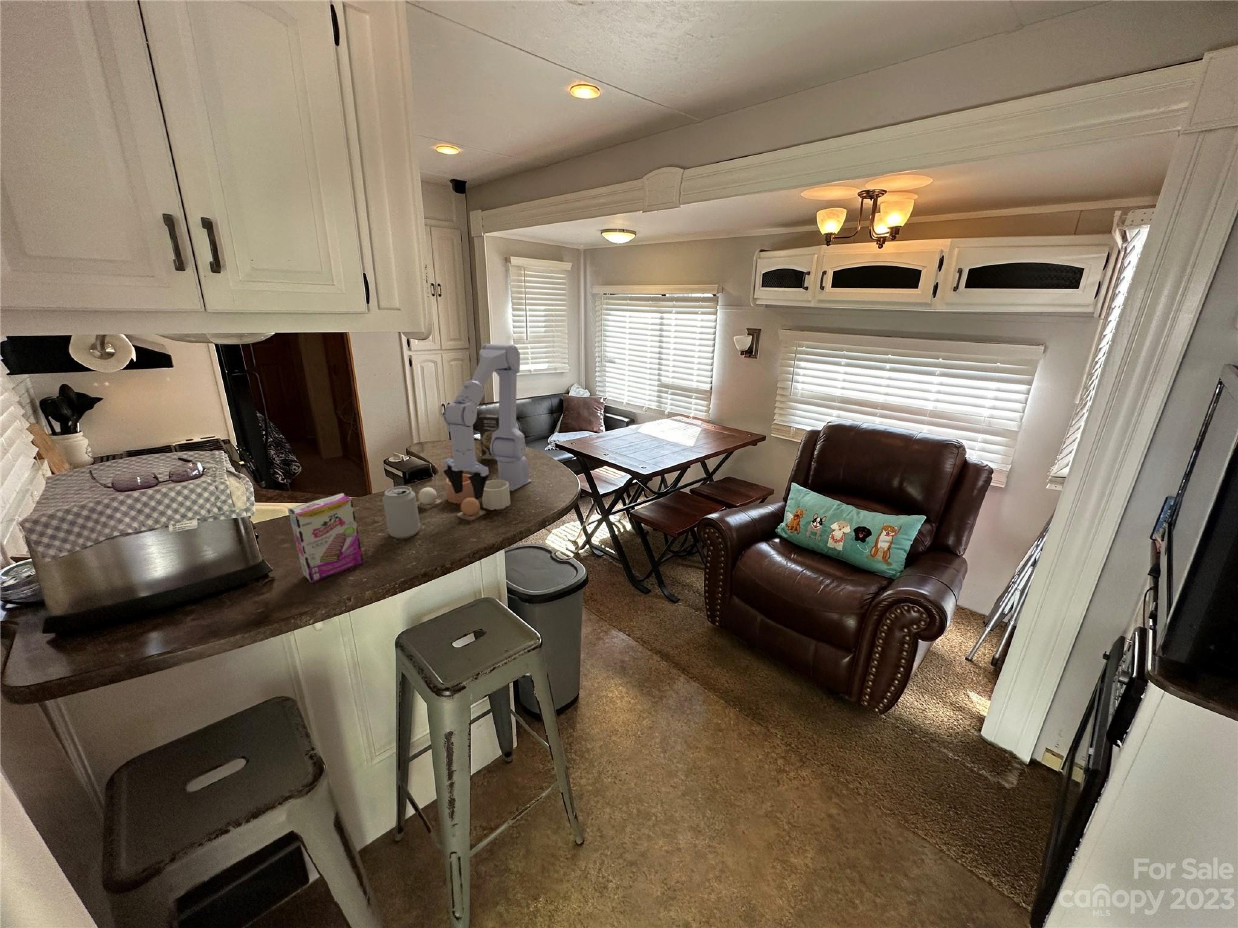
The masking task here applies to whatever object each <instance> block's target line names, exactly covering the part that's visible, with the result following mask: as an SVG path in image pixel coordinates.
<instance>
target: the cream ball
mask: <svg viewBox="0 0 1238 928" xmlns="http://www.w3.org/2000/svg"><path fill="white" fill-rule="evenodd" d="M437 497H438V493H437V492H436V490H435V489H433V488H432V487H424V488H422V489H421V490H420V491H419V492H418V500H419V501H420V502H421V503H423V504H425V505H430V504H432V503H435V501H436V499H438V498H437Z"/></svg>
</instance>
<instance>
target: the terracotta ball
mask: <svg viewBox="0 0 1238 928" xmlns="http://www.w3.org/2000/svg"><path fill="white" fill-rule="evenodd" d="M480 507H481V506H480V503H479V501H478V500H476V499H474V498H467V499H465V500H464V501H463V502H462V503H460V510H461V512H463V513H464V514H465V515H467V516H470V517H471V516H473V515H475V514H477V513H478V511H479V510H481V509H480Z"/></svg>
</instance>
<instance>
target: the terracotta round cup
mask: <svg viewBox="0 0 1238 928" xmlns="http://www.w3.org/2000/svg"><path fill="white" fill-rule="evenodd" d="M469 476H472V475H471V474H466V473H465V474H464V473H463V478H462V481H463V491H462V492H460V493H458V494H455V491H454V489H453V487H452V484H451V482H450V480H449V479H448V477H446V481H445V487H446V494H447V502H449V503H453V504H456V503H457V504H462V502H463V501H464V500H465V499H467V498H474V499H475V496H474V491H473V487H472V484H471V482H470V480H469V478H468V477H469Z"/></svg>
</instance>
